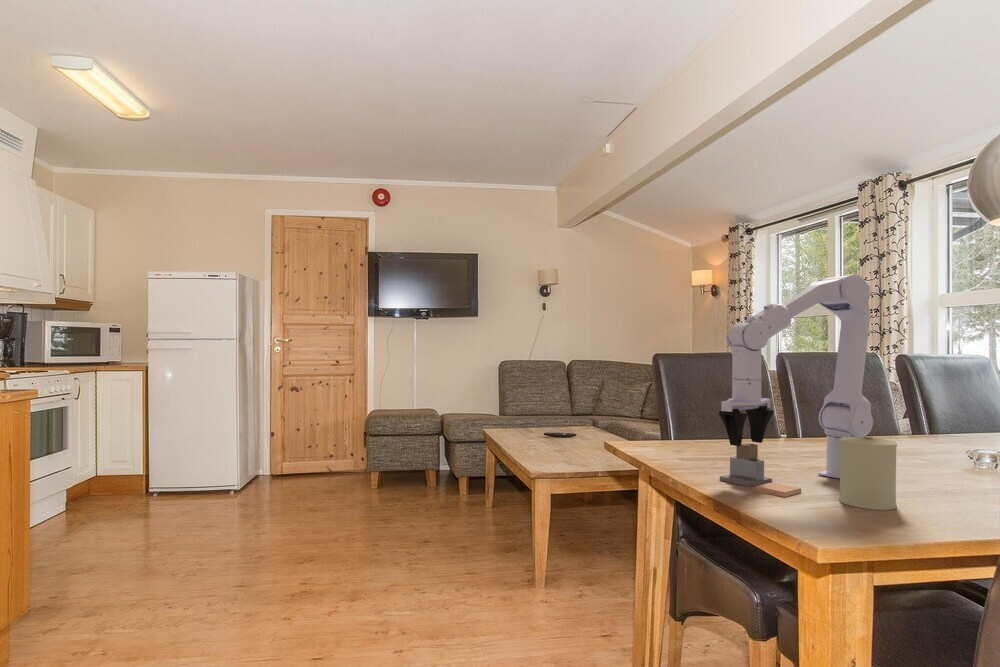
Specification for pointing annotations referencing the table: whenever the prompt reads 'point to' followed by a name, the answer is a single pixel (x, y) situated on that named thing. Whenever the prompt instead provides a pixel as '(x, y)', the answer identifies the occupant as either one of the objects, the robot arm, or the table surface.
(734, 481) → the mat
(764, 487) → the tile
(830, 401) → the robot arm
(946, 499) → the table surface
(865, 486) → the can
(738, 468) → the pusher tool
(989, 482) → the table surface
